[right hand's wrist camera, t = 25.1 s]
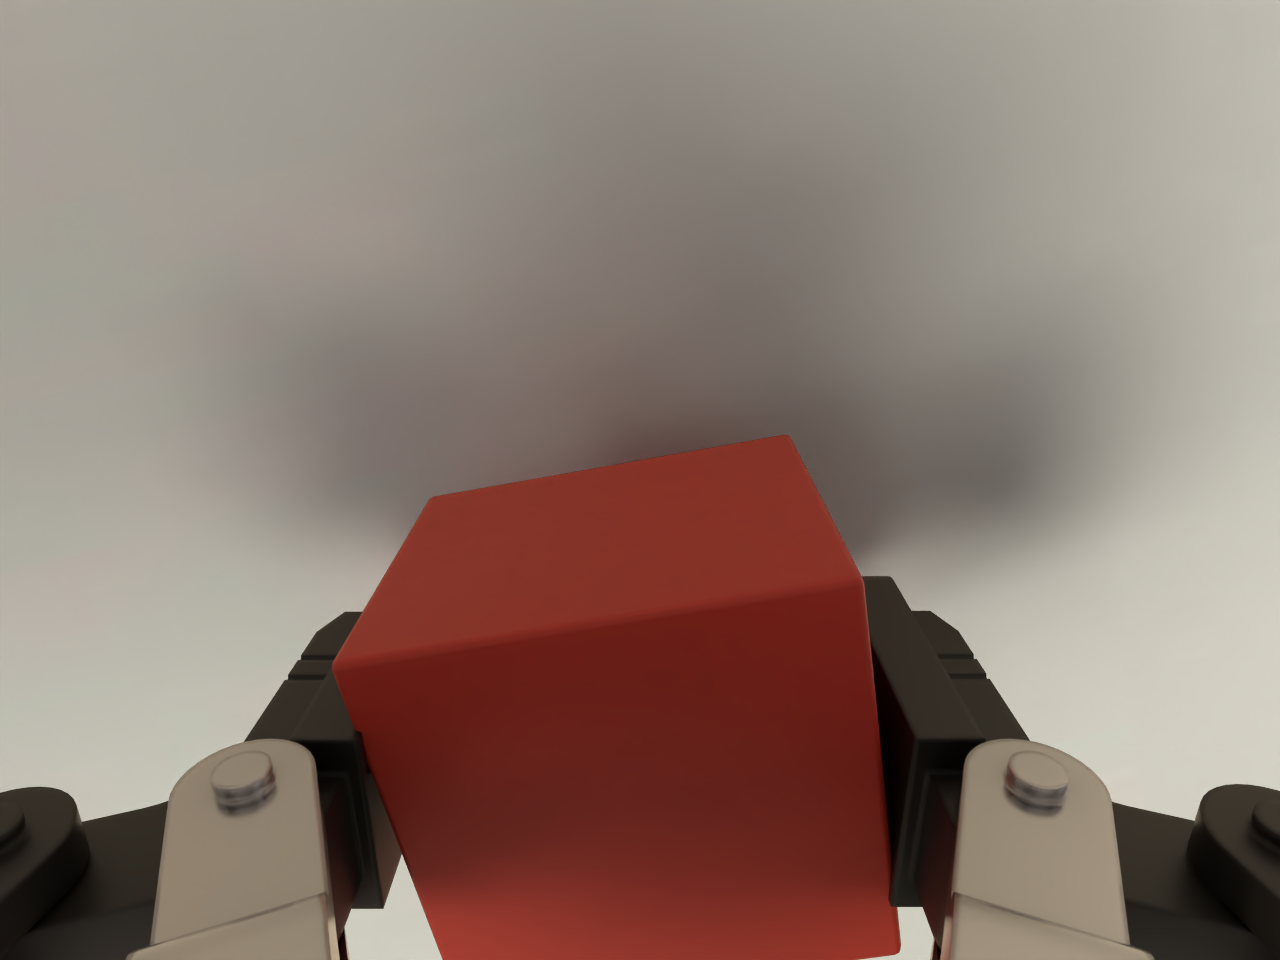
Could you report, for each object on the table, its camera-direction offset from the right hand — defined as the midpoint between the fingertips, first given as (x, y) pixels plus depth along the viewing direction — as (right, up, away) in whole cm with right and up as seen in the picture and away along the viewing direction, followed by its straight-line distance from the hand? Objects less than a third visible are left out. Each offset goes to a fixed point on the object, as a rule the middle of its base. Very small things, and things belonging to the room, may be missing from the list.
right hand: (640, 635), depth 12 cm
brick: (0, 0, +1) cm, 1 cm away
